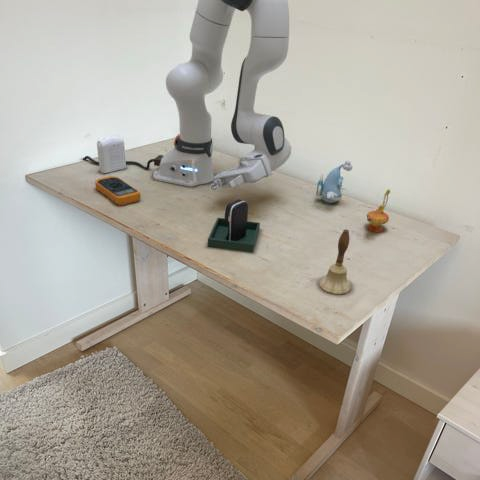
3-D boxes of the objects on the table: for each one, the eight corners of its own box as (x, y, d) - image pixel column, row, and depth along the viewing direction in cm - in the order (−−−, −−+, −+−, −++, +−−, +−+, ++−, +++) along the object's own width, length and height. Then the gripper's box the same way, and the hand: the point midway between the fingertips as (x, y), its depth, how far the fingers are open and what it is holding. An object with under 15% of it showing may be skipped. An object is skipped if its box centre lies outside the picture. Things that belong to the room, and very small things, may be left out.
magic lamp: (353, 237, 152) (360, 204, 146) (372, 217, 165) (379, 185, 158) (374, 244, 150) (383, 210, 143) (392, 222, 162) (400, 190, 156)
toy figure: (344, 213, 166) (353, 170, 157) (313, 209, 167) (319, 166, 158) (346, 194, 179) (354, 153, 170) (317, 190, 180) (323, 149, 171)
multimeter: (116, 183, 175) (115, 174, 173) (142, 201, 165) (141, 191, 163) (93, 188, 171) (92, 179, 169) (119, 207, 160) (118, 197, 158)
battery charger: (237, 231, 151) (239, 196, 144) (246, 236, 149) (249, 200, 142) (221, 239, 147) (223, 203, 140) (231, 243, 145) (233, 207, 138)
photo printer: (121, 165, 189) (118, 132, 182) (128, 168, 187) (125, 135, 180) (98, 171, 183) (93, 137, 176) (104, 174, 181) (100, 140, 174)
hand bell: (316, 276, 133) (326, 222, 123) (346, 277, 134) (358, 223, 124) (322, 294, 126) (332, 238, 117) (353, 294, 127) (367, 239, 117)
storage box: (207, 246, 143) (207, 238, 141) (217, 225, 154) (217, 217, 153) (253, 252, 142) (253, 244, 140) (259, 230, 153) (260, 222, 151)
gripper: (228, 162, 166) (198, 180, 159) (268, 154, 150) (235, 173, 143) (235, 180, 168) (206, 198, 162) (275, 173, 152) (244, 193, 146)
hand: (220, 186), depth 153 cm, fingers open, 8 cm apart
